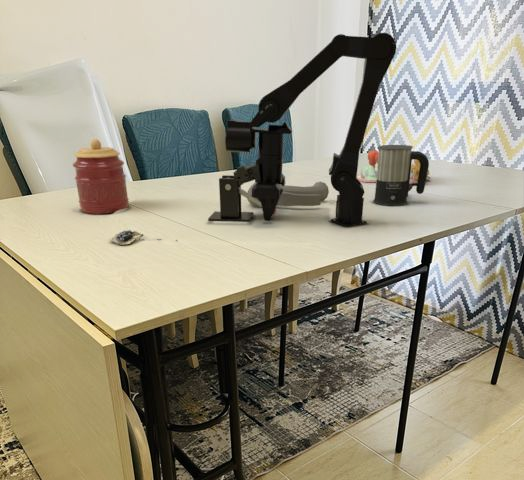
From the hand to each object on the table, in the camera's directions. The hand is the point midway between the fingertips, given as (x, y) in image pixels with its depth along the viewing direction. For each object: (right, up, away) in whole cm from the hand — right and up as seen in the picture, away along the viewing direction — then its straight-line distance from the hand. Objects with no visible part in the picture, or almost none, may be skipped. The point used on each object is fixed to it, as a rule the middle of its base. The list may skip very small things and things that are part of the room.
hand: (268, 220), depth 127 cm
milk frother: (+36, +11, +21) cm, 43 cm away
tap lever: (-5, +4, -1) cm, 7 cm away
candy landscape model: (+44, +26, +50) cm, 71 cm away
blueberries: (-30, -6, -18) cm, 35 cm away
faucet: (+7, +10, +19) cm, 23 cm away
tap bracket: (-9, 0, +1) cm, 9 cm away
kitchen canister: (-44, +6, +13) cm, 47 cm away
